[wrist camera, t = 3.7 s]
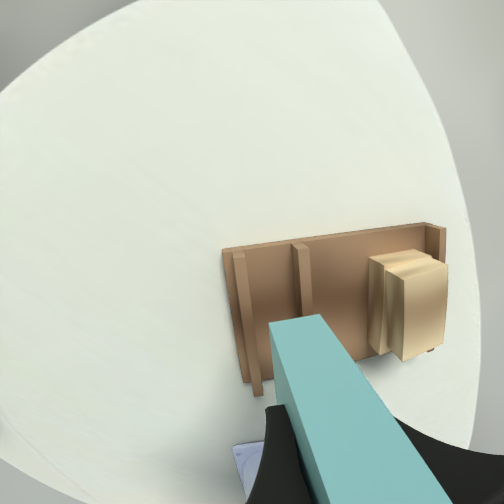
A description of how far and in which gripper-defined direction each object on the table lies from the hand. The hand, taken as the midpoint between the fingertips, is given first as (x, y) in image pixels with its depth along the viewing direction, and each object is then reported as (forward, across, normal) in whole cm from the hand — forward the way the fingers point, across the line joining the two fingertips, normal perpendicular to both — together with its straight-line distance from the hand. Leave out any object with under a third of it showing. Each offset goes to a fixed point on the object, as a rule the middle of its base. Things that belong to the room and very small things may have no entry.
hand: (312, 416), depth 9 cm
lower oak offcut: (+8, -8, 0) cm, 12 cm away
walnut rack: (+10, -4, 0) cm, 11 cm away
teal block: (+2, 0, 0) cm, 2 cm away
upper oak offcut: (+6, -8, 0) cm, 10 cm away
